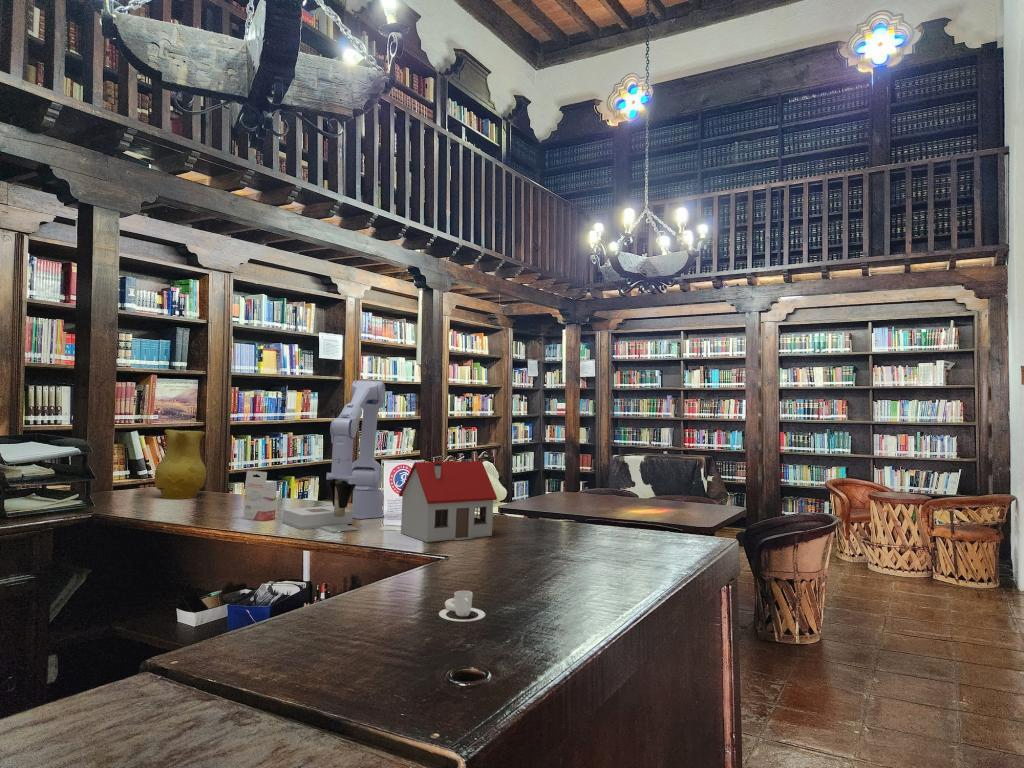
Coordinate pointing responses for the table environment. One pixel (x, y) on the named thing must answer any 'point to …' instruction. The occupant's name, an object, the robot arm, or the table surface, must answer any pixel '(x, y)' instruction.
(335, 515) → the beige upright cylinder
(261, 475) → the ink cartridge box
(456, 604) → the teacup and saucer
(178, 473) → the pitcher
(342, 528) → the rest pad
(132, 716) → the table surface
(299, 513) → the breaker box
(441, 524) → the house model
